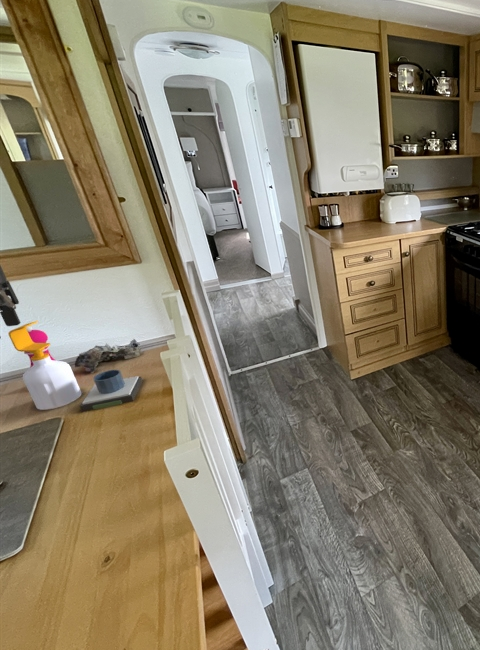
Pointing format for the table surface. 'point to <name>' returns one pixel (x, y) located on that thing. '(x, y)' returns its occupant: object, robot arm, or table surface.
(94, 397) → the scale
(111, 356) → the foil
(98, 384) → the bowl
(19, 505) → the table surface
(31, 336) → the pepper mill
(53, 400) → the spray bottle
